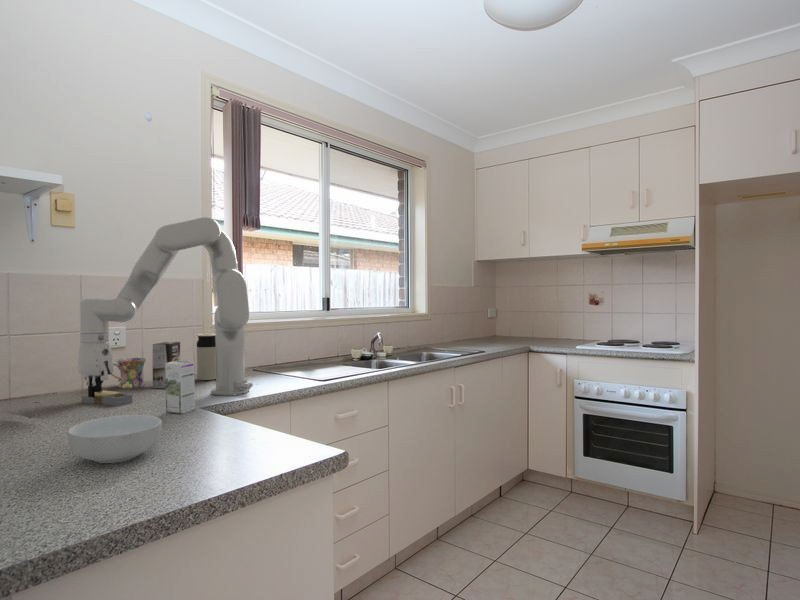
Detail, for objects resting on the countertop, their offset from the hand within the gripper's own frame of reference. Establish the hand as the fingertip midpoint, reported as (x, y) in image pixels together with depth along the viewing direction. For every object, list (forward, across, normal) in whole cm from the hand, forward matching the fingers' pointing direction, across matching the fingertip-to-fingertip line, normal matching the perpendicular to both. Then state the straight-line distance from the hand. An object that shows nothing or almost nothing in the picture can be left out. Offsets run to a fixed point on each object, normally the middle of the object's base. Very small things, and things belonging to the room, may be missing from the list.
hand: (95, 398), depth 151 cm
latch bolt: (+1, -6, 0) cm, 6 cm away
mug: (+2, +13, -21) cm, 25 cm away
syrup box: (+2, -31, -4) cm, 32 cm away
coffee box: (+2, +5, -31) cm, 31 cm away
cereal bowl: (+2, -51, +31) cm, 60 cm away
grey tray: (+2, -6, 0) cm, 6 cm away
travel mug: (+2, +2, -48) cm, 48 cm away
